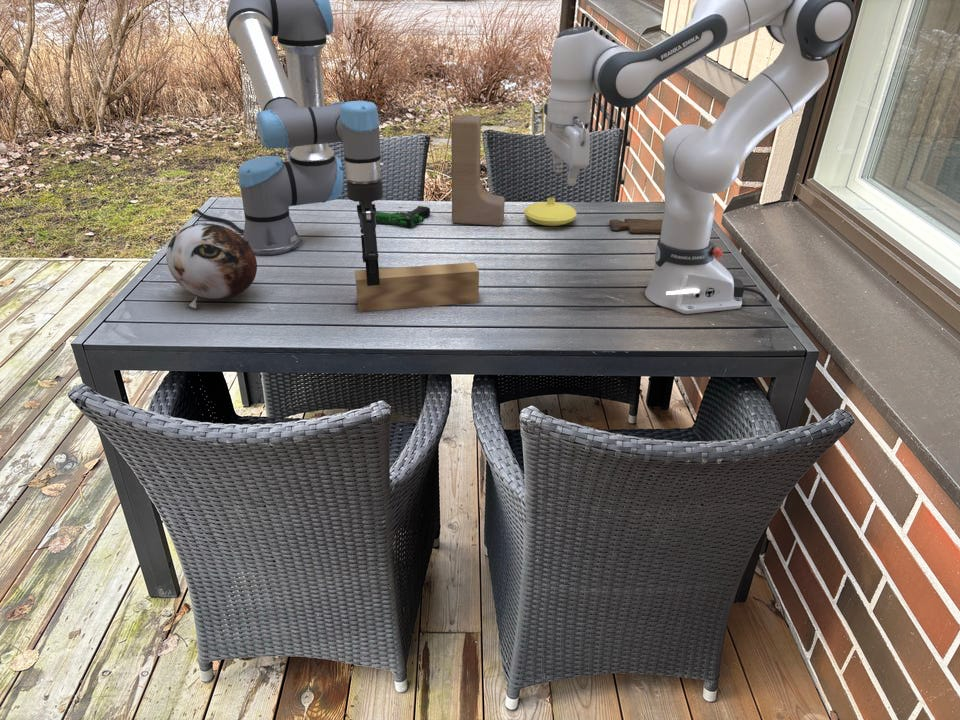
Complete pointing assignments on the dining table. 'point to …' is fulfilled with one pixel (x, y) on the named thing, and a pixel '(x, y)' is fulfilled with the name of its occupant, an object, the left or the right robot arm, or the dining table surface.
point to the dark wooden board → (637, 225)
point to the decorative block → (471, 176)
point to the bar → (419, 287)
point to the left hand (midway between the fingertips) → (371, 272)
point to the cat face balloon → (211, 261)
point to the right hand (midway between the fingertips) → (564, 178)
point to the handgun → (404, 217)
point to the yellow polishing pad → (550, 213)
